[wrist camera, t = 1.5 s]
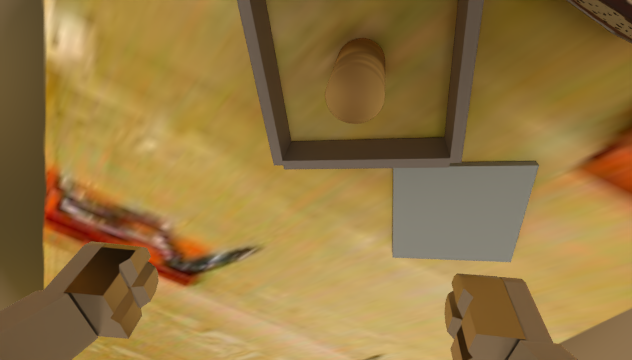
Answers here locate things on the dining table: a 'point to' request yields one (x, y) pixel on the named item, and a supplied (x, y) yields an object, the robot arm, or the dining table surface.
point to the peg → (357, 82)
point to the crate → (367, 150)
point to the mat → (461, 210)
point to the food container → (609, 15)
